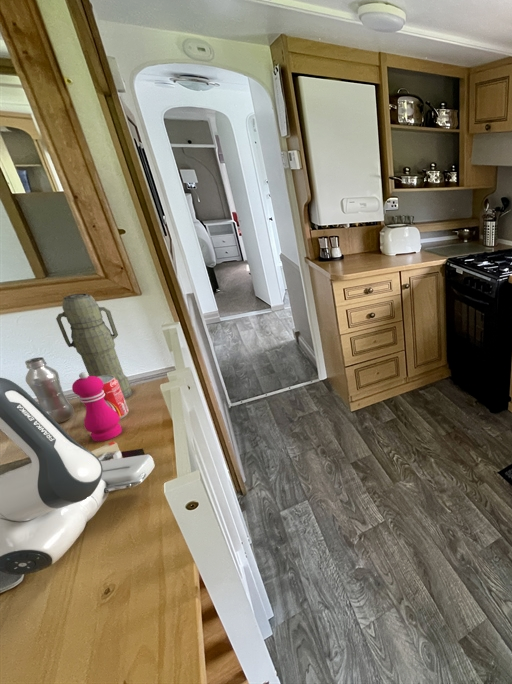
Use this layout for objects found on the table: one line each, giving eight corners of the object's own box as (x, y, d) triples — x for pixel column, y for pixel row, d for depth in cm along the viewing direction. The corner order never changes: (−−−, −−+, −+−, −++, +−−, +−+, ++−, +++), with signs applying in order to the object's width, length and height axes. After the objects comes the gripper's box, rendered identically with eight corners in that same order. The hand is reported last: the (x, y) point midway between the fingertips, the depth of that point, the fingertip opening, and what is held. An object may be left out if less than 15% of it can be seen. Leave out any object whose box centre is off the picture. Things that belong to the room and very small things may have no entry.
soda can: (125, 408, 119) (112, 371, 114) (133, 416, 115) (119, 378, 111) (95, 418, 114) (80, 380, 109) (102, 427, 110) (86, 388, 105)
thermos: (141, 393, 127) (107, 294, 114) (95, 408, 118) (52, 303, 105) (132, 385, 132) (98, 289, 119) (87, 399, 123) (45, 297, 110)
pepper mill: (89, 434, 107) (62, 372, 99) (122, 424, 112) (99, 363, 104) (91, 446, 102) (64, 382, 95) (126, 434, 107) (102, 372, 100)
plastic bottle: (40, 428, 109) (10, 367, 101) (53, 416, 114) (25, 357, 107) (70, 423, 111) (43, 363, 104) (80, 411, 117) (55, 353, 109)
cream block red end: (75, 483, 86) (66, 464, 84) (73, 481, 87) (63, 461, 85) (123, 461, 94) (116, 442, 92) (121, 459, 94) (114, 440, 92)
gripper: (134, 474, 80) (161, 435, 93) (9, 495, 74) (56, 450, 87) (142, 497, 83) (168, 456, 95) (23, 518, 77) (66, 472, 89)
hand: (113, 453), depth 91 cm, fingers closed
